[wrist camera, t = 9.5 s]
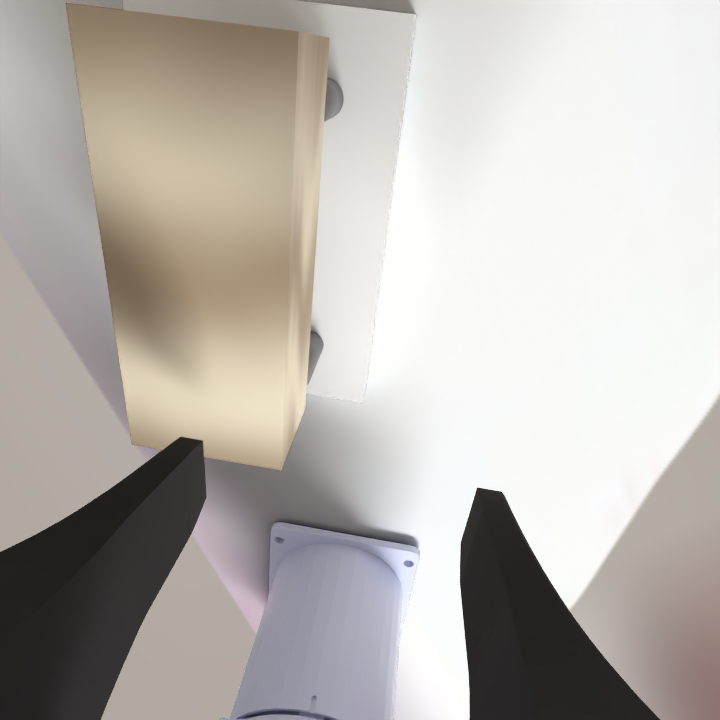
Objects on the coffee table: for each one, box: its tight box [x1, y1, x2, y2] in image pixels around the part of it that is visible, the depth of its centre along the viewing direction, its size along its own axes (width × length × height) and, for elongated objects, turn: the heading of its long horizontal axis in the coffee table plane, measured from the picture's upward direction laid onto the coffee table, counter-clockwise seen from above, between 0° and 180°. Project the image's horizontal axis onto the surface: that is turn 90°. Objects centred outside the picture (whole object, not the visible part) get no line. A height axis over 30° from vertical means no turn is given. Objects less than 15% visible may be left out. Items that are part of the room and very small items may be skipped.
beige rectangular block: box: [66, 3, 330, 470], centre depth 15 cm, size 12×5×4 cm, turn 174°
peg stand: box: [122, 0, 416, 403], centre depth 18 cm, size 14×9×4 cm, turn 174°
